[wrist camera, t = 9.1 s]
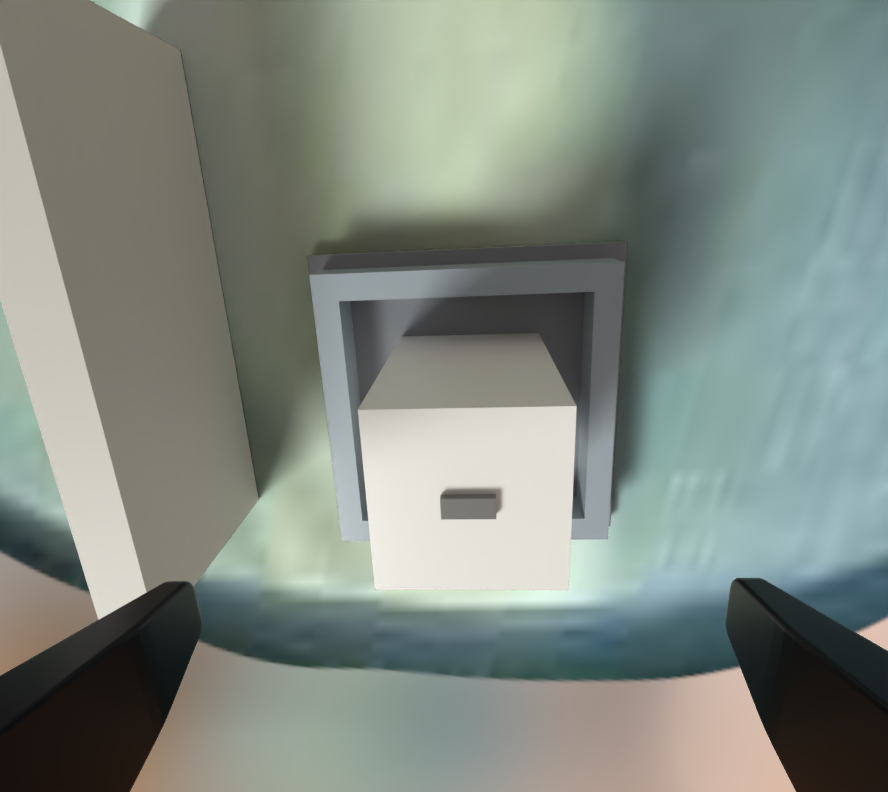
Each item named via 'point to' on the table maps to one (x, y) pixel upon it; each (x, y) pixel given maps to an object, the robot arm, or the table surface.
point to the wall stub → (118, 296)
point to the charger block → (469, 465)
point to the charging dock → (470, 313)
